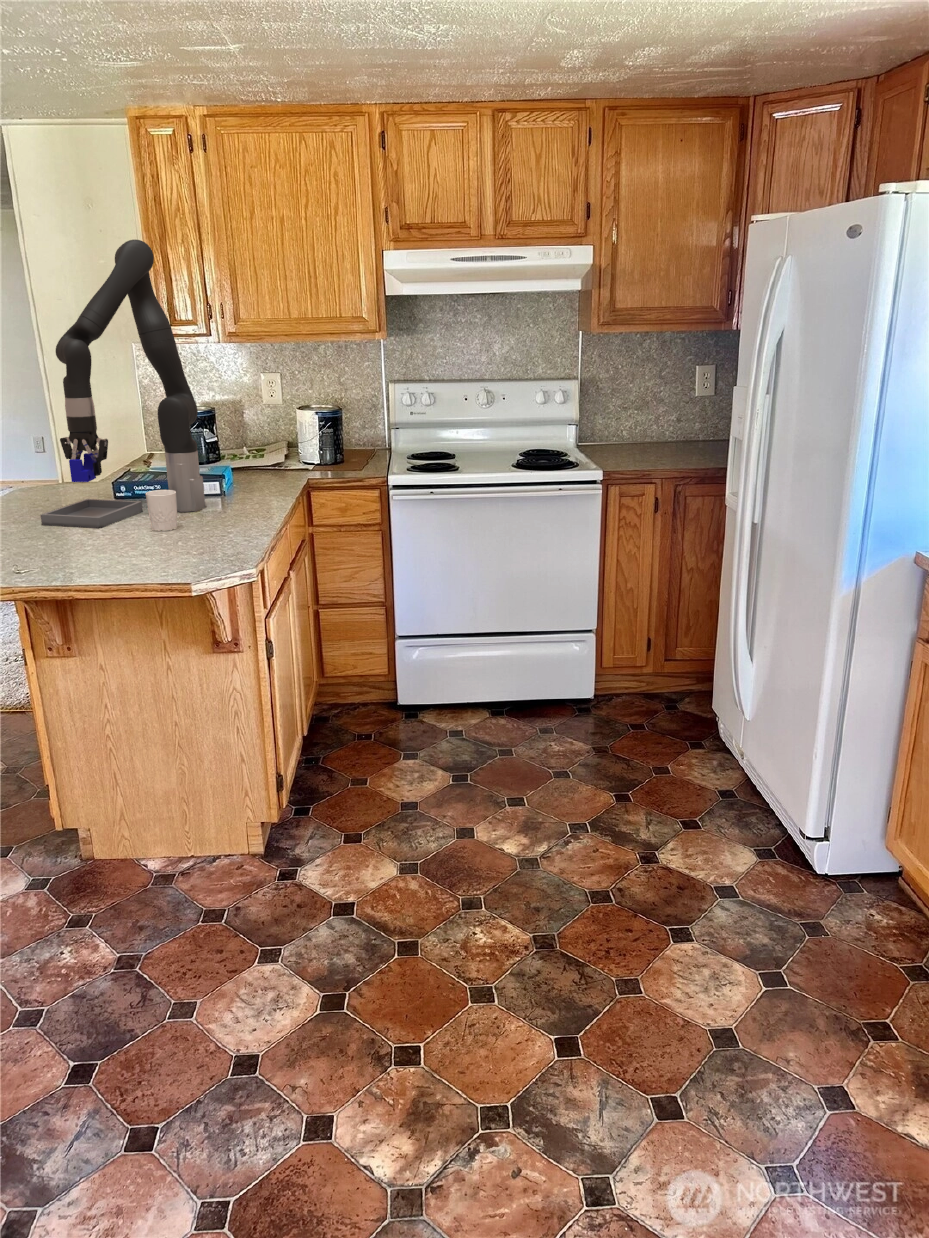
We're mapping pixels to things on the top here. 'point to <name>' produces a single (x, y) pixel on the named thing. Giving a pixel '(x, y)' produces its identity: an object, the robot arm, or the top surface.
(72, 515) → the tray
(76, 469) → the blue curved block
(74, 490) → the top surface
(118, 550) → the top surface
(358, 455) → the top surface
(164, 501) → the white cup
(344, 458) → the top surface
